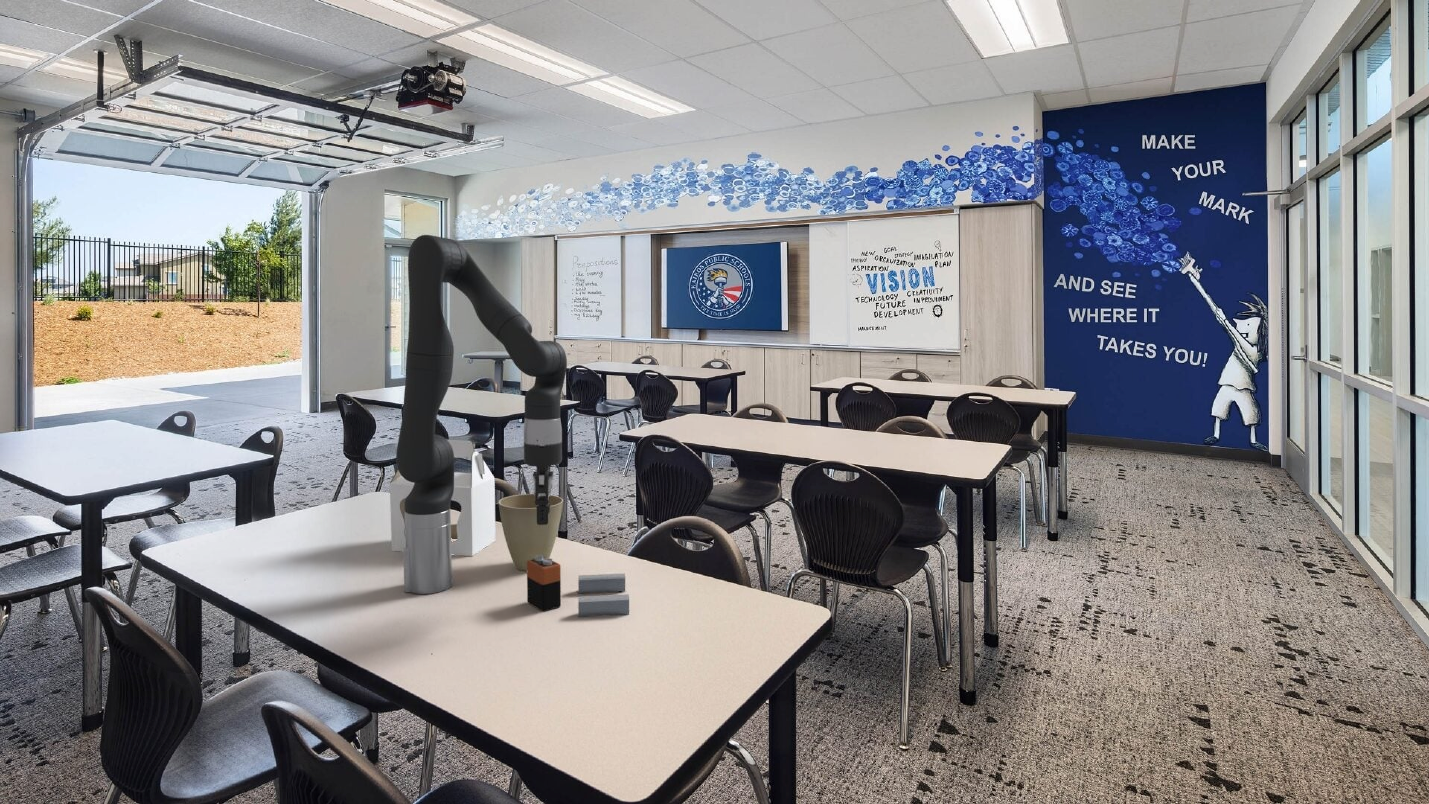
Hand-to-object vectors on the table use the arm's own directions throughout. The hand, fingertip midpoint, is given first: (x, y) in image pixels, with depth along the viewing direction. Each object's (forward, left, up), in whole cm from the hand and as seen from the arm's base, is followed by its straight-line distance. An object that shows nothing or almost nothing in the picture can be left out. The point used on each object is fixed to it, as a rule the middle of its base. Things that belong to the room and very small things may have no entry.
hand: (543, 518), depth 154 cm
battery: (0, 0, -18) cm, 18 cm away
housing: (+12, 0, -18) cm, 22 cm away
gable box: (-27, +45, -18) cm, 56 cm away
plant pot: (-4, +26, -18) cm, 32 cm away
